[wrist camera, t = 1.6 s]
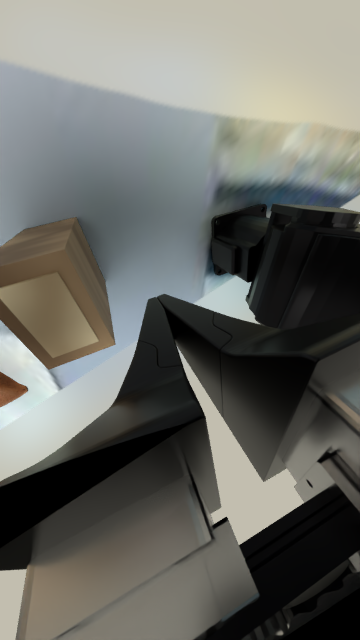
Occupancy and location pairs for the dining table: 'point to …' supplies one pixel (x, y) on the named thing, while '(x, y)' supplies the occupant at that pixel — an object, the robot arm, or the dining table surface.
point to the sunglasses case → (10, 389)
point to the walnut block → (54, 293)
